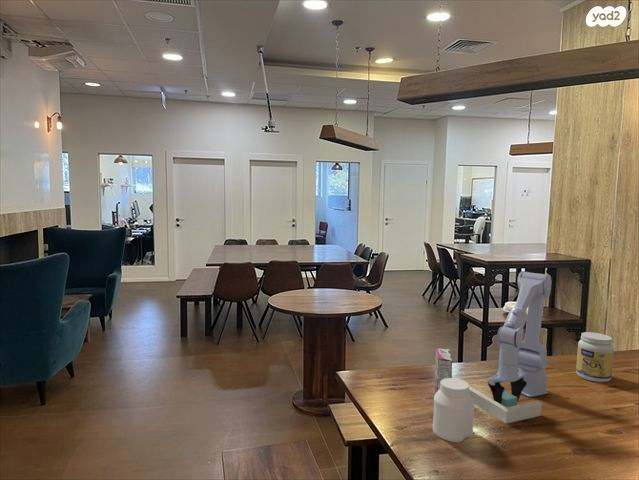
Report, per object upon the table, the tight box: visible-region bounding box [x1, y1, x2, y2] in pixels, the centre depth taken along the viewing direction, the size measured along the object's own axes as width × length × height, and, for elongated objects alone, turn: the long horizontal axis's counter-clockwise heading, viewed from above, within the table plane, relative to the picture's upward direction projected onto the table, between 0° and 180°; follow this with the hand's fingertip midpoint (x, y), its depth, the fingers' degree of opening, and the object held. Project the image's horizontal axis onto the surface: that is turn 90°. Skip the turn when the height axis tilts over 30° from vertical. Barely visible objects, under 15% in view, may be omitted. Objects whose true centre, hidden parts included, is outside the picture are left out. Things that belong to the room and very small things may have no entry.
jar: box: [432, 377, 475, 443], centre depth 129 cm, size 12×10×15 cm
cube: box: [501, 390, 518, 407], centre depth 144 cm, size 5×5×5 cm
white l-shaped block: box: [469, 385, 543, 425], centre depth 147 cm, size 15×20×4 cm
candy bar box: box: [434, 347, 453, 395], centre depth 151 cm, size 11×5×16 cm, turn 168°
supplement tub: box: [575, 331, 615, 383], centre depth 172 cm, size 12×12×17 cm
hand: (506, 402), depth 144 cm, fingers open, 7 cm apart
